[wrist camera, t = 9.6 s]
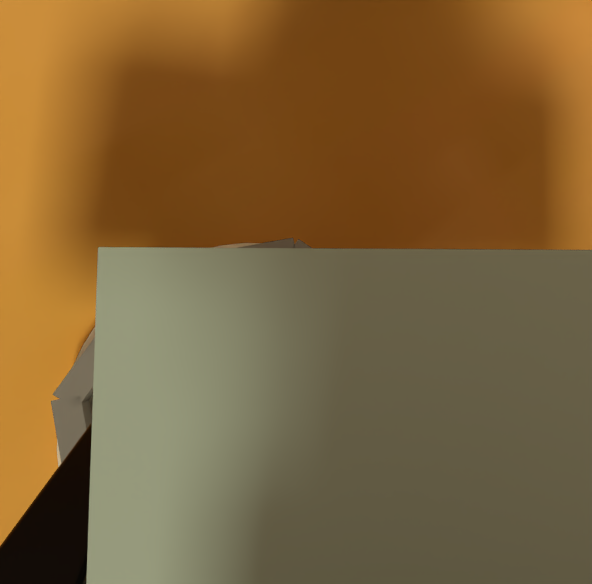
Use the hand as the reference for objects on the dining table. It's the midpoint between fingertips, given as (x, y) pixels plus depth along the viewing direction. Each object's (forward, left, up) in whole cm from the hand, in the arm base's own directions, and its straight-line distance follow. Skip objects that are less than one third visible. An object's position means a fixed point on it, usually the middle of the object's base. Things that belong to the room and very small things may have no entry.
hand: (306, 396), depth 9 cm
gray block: (-1, 0, -7) cm, 7 cm away
